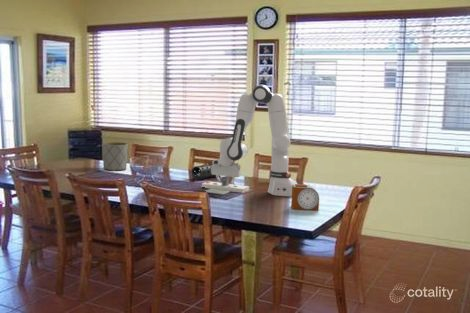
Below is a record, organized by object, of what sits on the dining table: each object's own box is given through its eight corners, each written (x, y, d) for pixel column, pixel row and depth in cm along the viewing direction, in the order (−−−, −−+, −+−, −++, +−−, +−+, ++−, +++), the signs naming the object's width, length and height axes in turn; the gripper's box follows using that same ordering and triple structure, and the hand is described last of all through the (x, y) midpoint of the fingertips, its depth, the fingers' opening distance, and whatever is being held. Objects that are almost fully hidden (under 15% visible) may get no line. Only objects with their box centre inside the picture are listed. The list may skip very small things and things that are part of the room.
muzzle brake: (190, 179, 380) (191, 165, 379) (215, 174, 403) (215, 161, 401) (201, 181, 375) (201, 166, 373) (225, 176, 397) (225, 162, 396)
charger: (228, 188, 352) (229, 176, 351) (225, 189, 348) (226, 177, 347) (224, 188, 353) (224, 176, 352) (221, 189, 350) (222, 177, 348)
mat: (229, 192, 341) (229, 191, 341) (223, 194, 333) (223, 193, 333) (210, 189, 347) (210, 188, 347) (203, 191, 339) (203, 191, 339)
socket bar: (249, 190, 349) (249, 185, 349) (242, 192, 340) (242, 188, 340) (208, 185, 362) (208, 180, 361) (201, 187, 353) (201, 182, 352)
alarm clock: (292, 209, 300) (293, 186, 298) (290, 206, 308) (292, 183, 306) (318, 210, 300) (320, 187, 298) (316, 207, 308) (317, 184, 307)
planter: (132, 169, 410) (132, 144, 407) (112, 172, 396) (112, 145, 393) (117, 166, 423) (117, 141, 420) (97, 168, 408) (97, 143, 406)
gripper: (242, 162, 347) (241, 183, 349) (214, 159, 355) (214, 180, 357) (238, 164, 341) (237, 185, 343) (210, 160, 350) (209, 181, 352)
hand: (225, 182), depth 350 cm, fingers open, 8 cm apart
